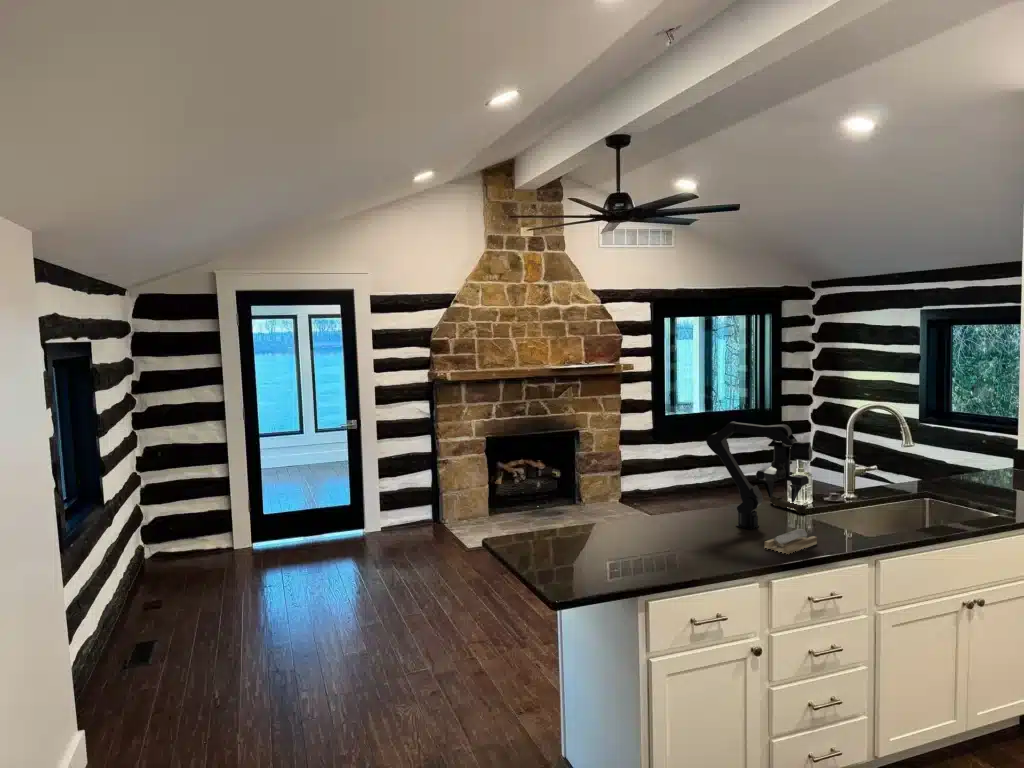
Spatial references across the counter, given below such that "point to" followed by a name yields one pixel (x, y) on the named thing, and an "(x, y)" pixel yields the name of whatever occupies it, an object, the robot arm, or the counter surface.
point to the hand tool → (786, 504)
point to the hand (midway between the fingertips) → (781, 499)
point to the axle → (790, 537)
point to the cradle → (791, 545)
